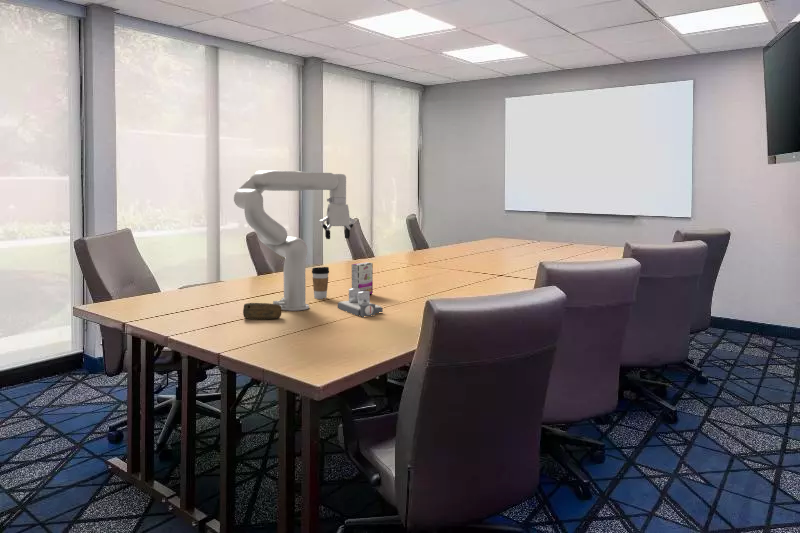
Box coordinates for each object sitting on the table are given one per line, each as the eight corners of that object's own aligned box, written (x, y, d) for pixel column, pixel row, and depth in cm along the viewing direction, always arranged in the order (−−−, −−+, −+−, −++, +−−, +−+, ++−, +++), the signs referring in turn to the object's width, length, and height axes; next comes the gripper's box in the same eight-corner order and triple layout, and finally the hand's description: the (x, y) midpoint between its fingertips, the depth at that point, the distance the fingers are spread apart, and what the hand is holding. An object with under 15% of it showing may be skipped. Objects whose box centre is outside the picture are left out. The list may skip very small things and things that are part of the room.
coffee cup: (327, 299, 285) (327, 268, 283) (310, 299, 285) (310, 268, 283) (330, 296, 293) (330, 266, 291) (313, 296, 293) (313, 266, 291)
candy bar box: (365, 293, 303) (365, 261, 301) (372, 294, 300) (373, 262, 298) (350, 296, 294) (351, 263, 292) (358, 297, 291) (358, 264, 289)
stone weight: (242, 321, 236) (242, 304, 235) (244, 317, 243) (244, 301, 242) (281, 320, 239) (281, 304, 238) (281, 317, 246) (281, 301, 245)
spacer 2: (362, 307, 253) (361, 293, 252) (355, 305, 257) (355, 291, 256) (371, 305, 256) (371, 292, 255) (365, 303, 260) (365, 290, 259)
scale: (362, 317, 246) (362, 306, 245) (337, 308, 265) (337, 297, 264) (386, 314, 252) (386, 303, 252) (361, 305, 271) (361, 295, 271)
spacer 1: (352, 303, 260) (352, 290, 260) (346, 301, 265) (346, 288, 264) (361, 302, 263) (362, 289, 262) (356, 300, 267) (356, 287, 266)
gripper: (324, 201, 262) (323, 239, 264) (358, 201, 271) (358, 238, 274) (316, 200, 268) (316, 238, 271) (350, 201, 278) (350, 237, 280)
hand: (337, 238), depth 272 cm, fingers open, 9 cm apart
